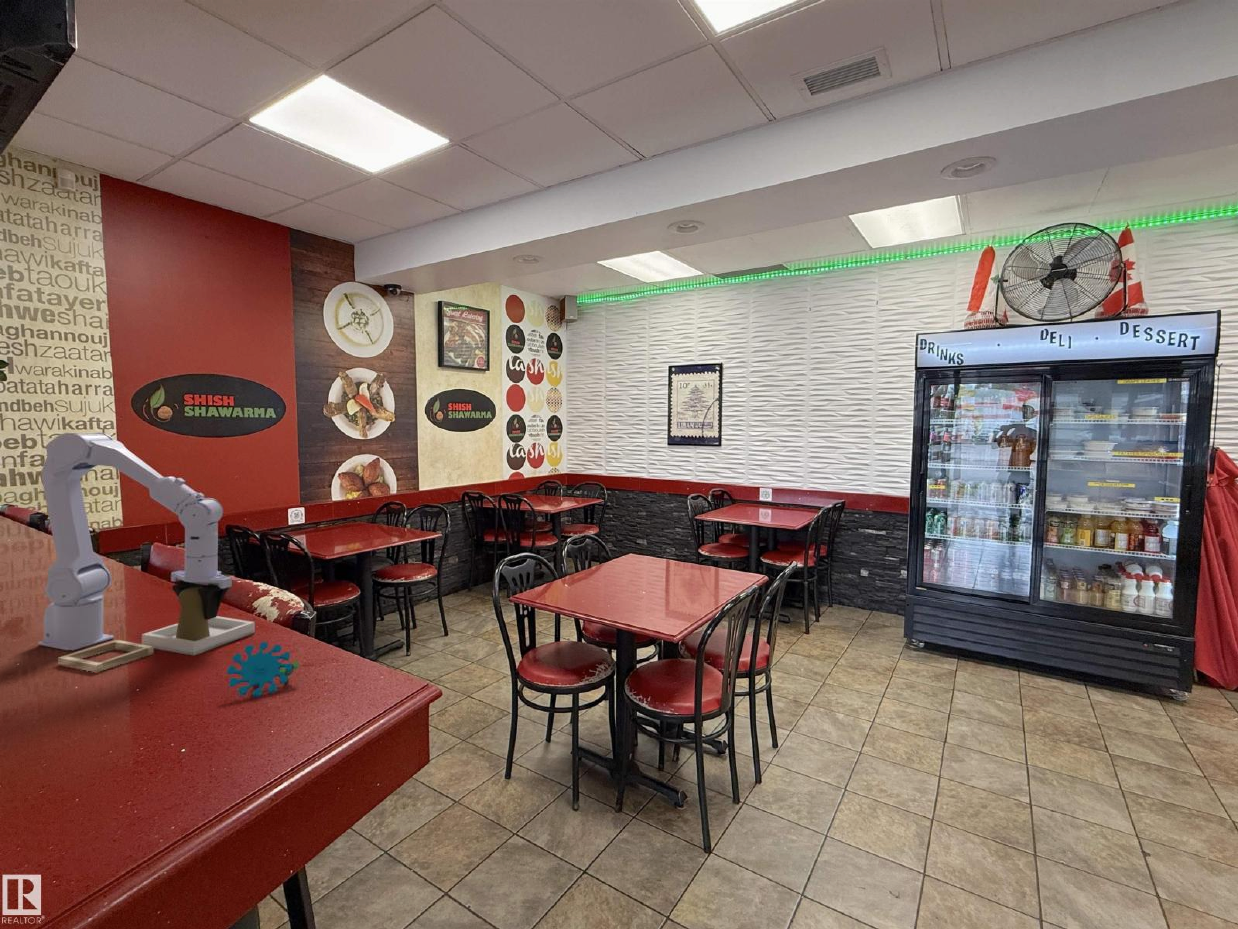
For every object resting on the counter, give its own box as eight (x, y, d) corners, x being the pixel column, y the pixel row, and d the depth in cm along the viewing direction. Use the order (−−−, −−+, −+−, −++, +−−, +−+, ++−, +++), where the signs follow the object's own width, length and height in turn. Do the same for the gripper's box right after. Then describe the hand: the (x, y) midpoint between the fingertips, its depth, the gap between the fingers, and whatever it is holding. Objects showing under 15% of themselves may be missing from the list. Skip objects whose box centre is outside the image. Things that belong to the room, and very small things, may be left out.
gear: (222, 696, 94) (232, 640, 100) (219, 709, 97) (229, 655, 103) (297, 691, 100) (302, 639, 106) (292, 705, 103) (297, 653, 109)
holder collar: (57, 665, 106) (57, 657, 106) (116, 646, 115) (116, 639, 115) (96, 673, 103) (96, 665, 103) (153, 653, 113) (153, 646, 113)
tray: (141, 646, 116) (141, 634, 116) (206, 625, 130) (206, 614, 130) (193, 655, 113) (193, 643, 113) (254, 633, 126) (254, 622, 126)
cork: (192, 645, 116) (193, 594, 116) (167, 642, 117) (168, 591, 117) (217, 635, 122) (218, 586, 122) (193, 632, 123) (194, 583, 123)
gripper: (244, 554, 123) (243, 615, 123) (193, 548, 126) (193, 607, 127) (214, 561, 116) (213, 625, 116) (161, 554, 119) (160, 616, 120)
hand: (200, 616), depth 121 cm, fingers closed on cork, 5 cm apart
